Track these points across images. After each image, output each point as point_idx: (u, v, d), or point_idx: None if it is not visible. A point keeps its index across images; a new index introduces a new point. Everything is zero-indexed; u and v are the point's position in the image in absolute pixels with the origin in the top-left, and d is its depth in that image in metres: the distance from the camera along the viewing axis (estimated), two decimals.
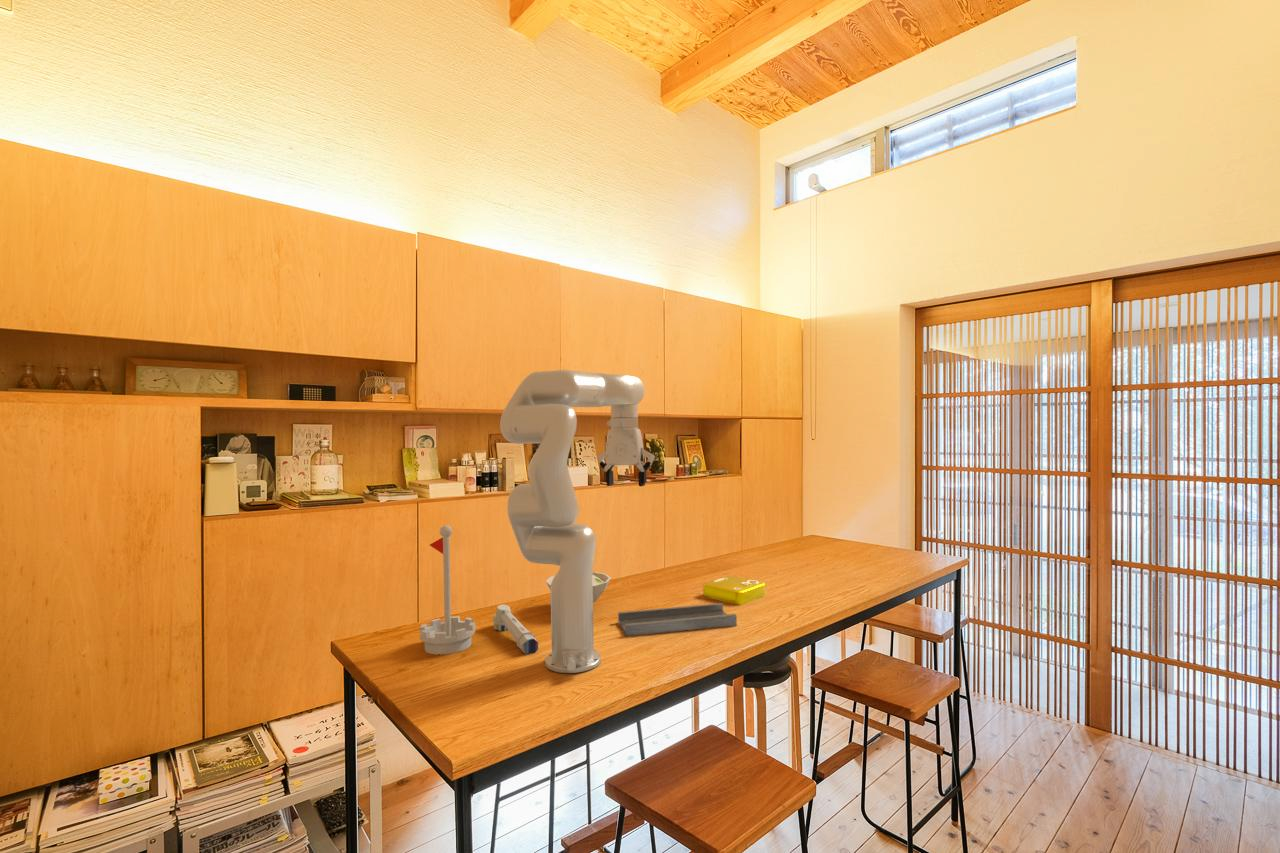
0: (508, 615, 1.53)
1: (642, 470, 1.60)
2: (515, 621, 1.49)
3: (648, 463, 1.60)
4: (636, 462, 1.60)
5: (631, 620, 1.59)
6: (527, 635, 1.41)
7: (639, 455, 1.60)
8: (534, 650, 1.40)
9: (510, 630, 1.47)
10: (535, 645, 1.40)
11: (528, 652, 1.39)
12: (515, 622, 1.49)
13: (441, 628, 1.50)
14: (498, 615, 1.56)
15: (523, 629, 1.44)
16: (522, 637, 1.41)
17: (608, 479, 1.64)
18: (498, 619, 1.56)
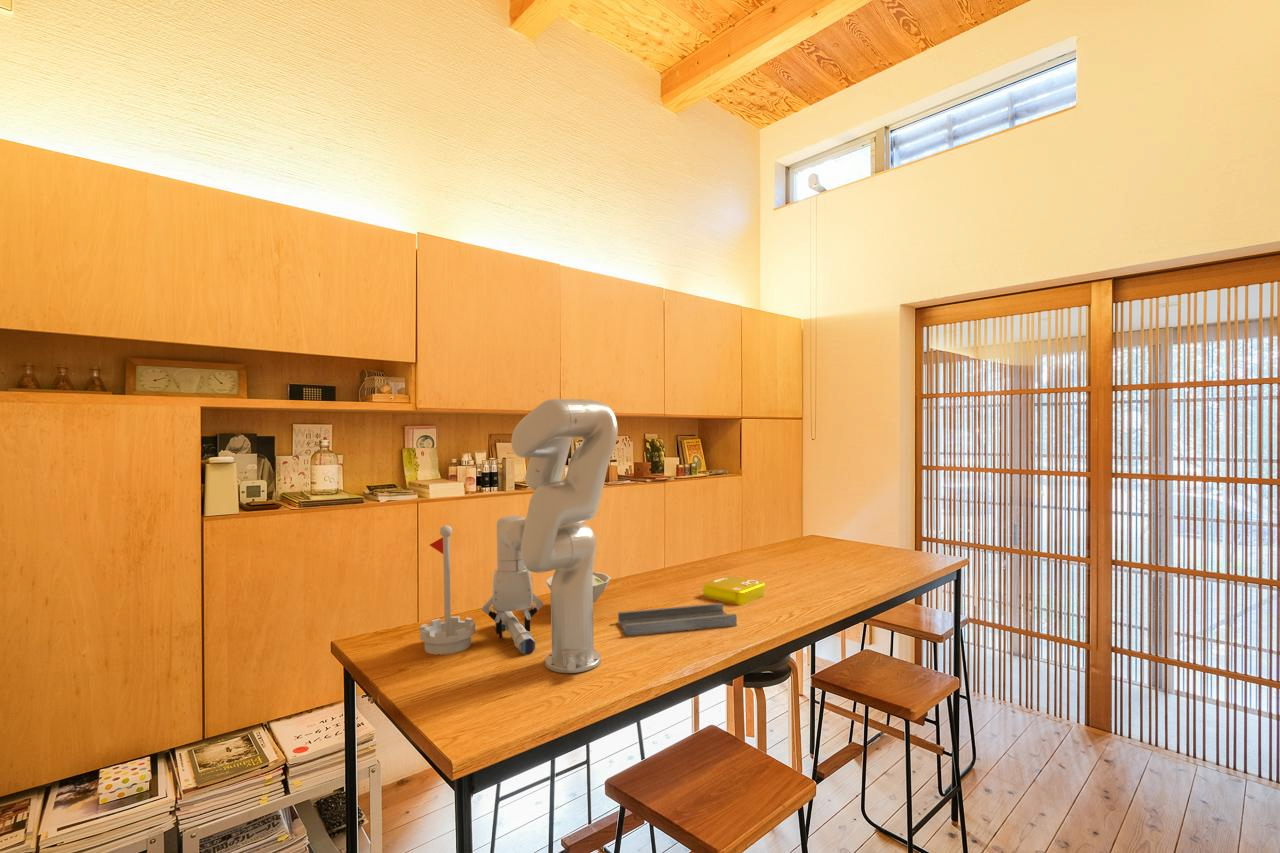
0: (508, 614, 1.53)
1: None
2: (514, 620, 1.49)
3: None
4: None
5: (631, 620, 1.59)
6: (524, 635, 1.41)
7: None
8: (531, 649, 1.39)
9: (509, 629, 1.47)
10: (532, 645, 1.39)
11: (525, 652, 1.39)
12: (514, 621, 1.49)
13: (441, 628, 1.50)
14: None
15: (521, 629, 1.44)
16: (520, 636, 1.40)
17: None
18: None
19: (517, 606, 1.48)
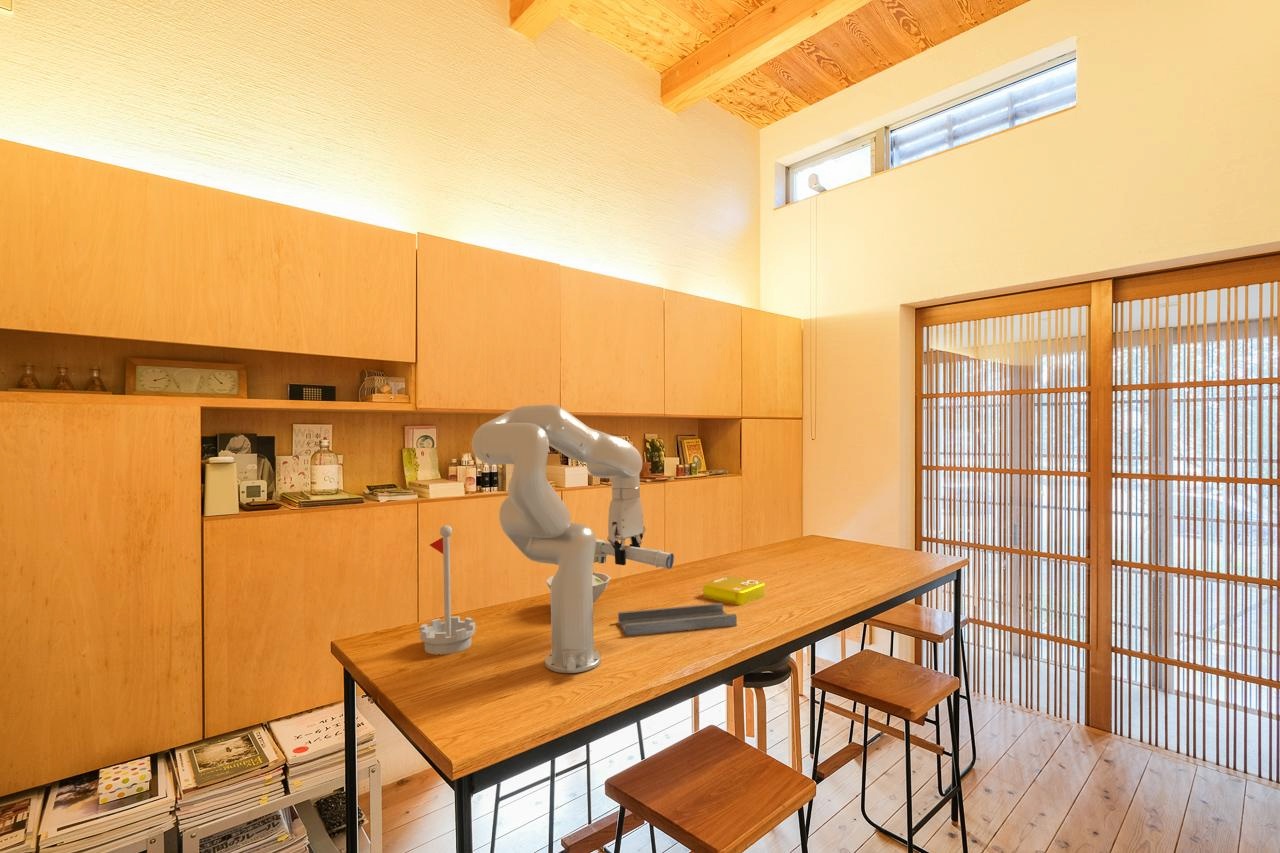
0: None
1: None
2: (630, 546, 1.55)
3: None
4: None
5: (631, 620, 1.59)
6: (662, 552, 1.51)
7: (609, 528, 1.53)
8: (672, 563, 1.52)
9: (633, 554, 1.53)
10: (672, 559, 1.52)
11: (669, 566, 1.50)
12: (631, 547, 1.55)
13: (441, 628, 1.50)
14: (597, 548, 1.58)
15: (650, 549, 1.53)
16: (660, 554, 1.51)
17: None
18: (597, 552, 1.58)
19: (636, 532, 1.55)
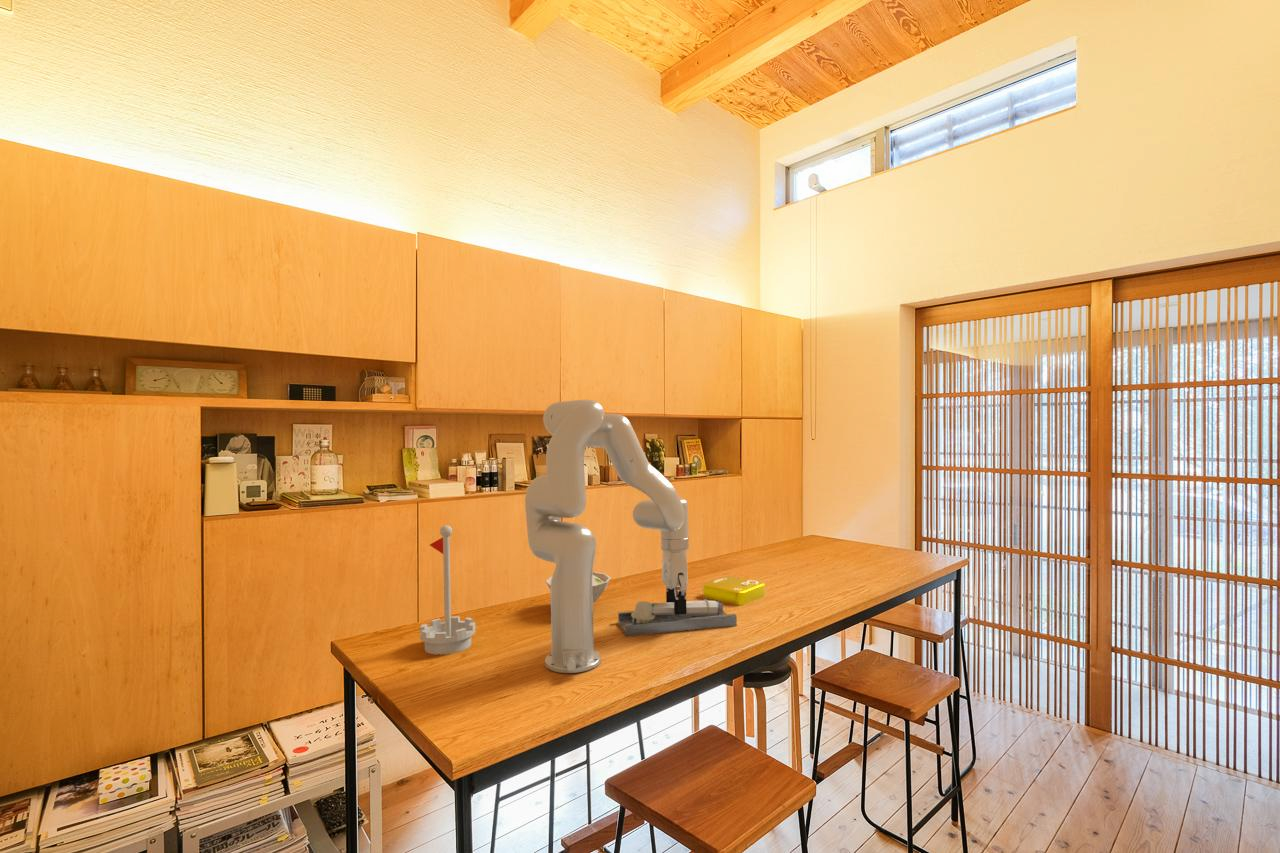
0: (663, 603, 1.56)
1: (676, 598, 1.53)
2: None
3: (679, 593, 1.52)
4: (670, 587, 1.53)
5: (631, 620, 1.59)
6: (709, 601, 1.61)
7: (674, 581, 1.53)
8: None
9: (686, 609, 1.57)
10: None
11: None
12: None
13: (441, 628, 1.50)
14: (649, 610, 1.53)
15: (697, 601, 1.60)
16: (710, 603, 1.60)
17: (667, 599, 1.61)
18: (649, 614, 1.53)
19: None
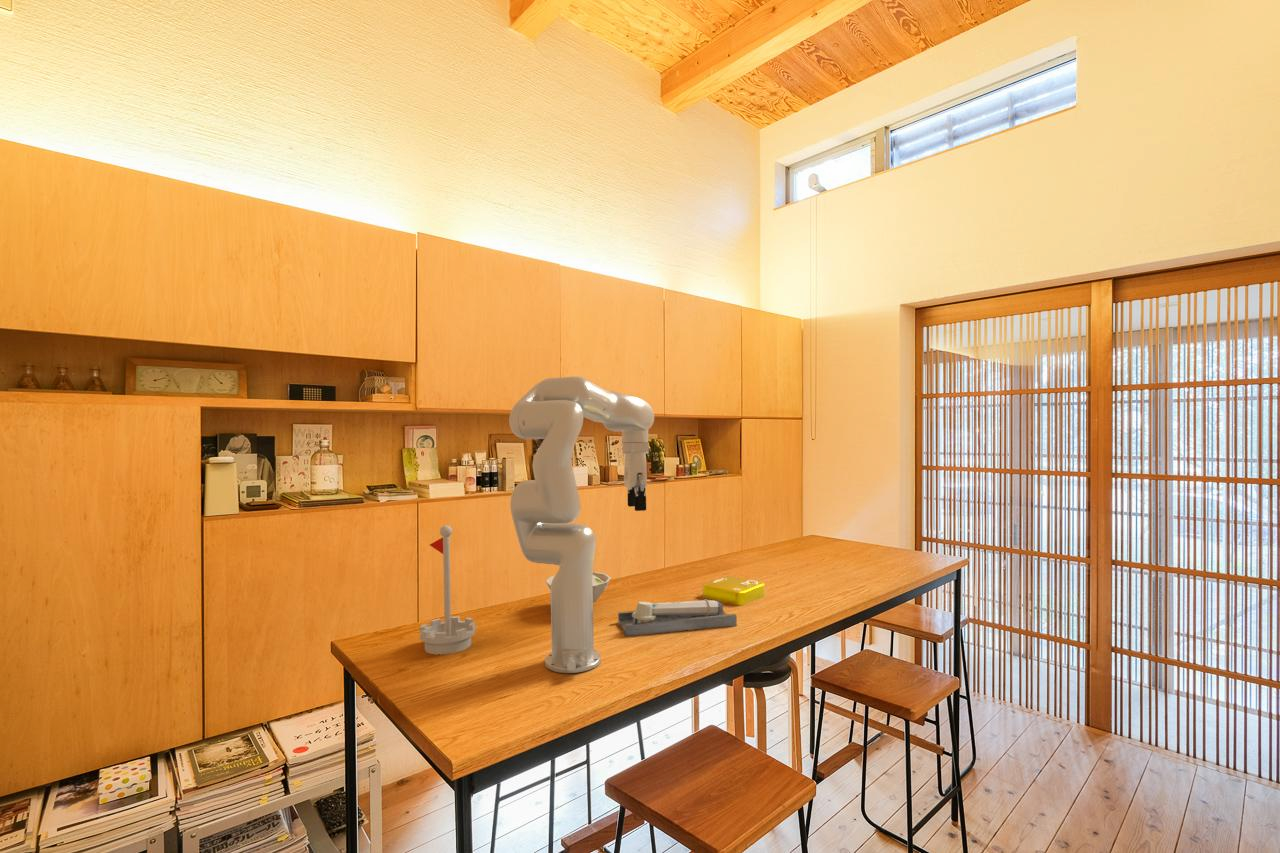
0: (663, 603, 1.56)
1: (636, 495, 1.62)
2: (679, 602, 1.58)
3: (638, 488, 1.60)
4: (630, 486, 1.63)
5: (631, 620, 1.59)
6: (709, 601, 1.62)
7: (633, 480, 1.62)
8: None
9: (687, 609, 1.57)
10: None
11: None
12: (680, 602, 1.58)
13: (441, 628, 1.50)
14: (650, 610, 1.53)
15: (697, 601, 1.60)
16: (710, 603, 1.61)
17: (628, 500, 1.72)
18: (650, 615, 1.53)
19: None
